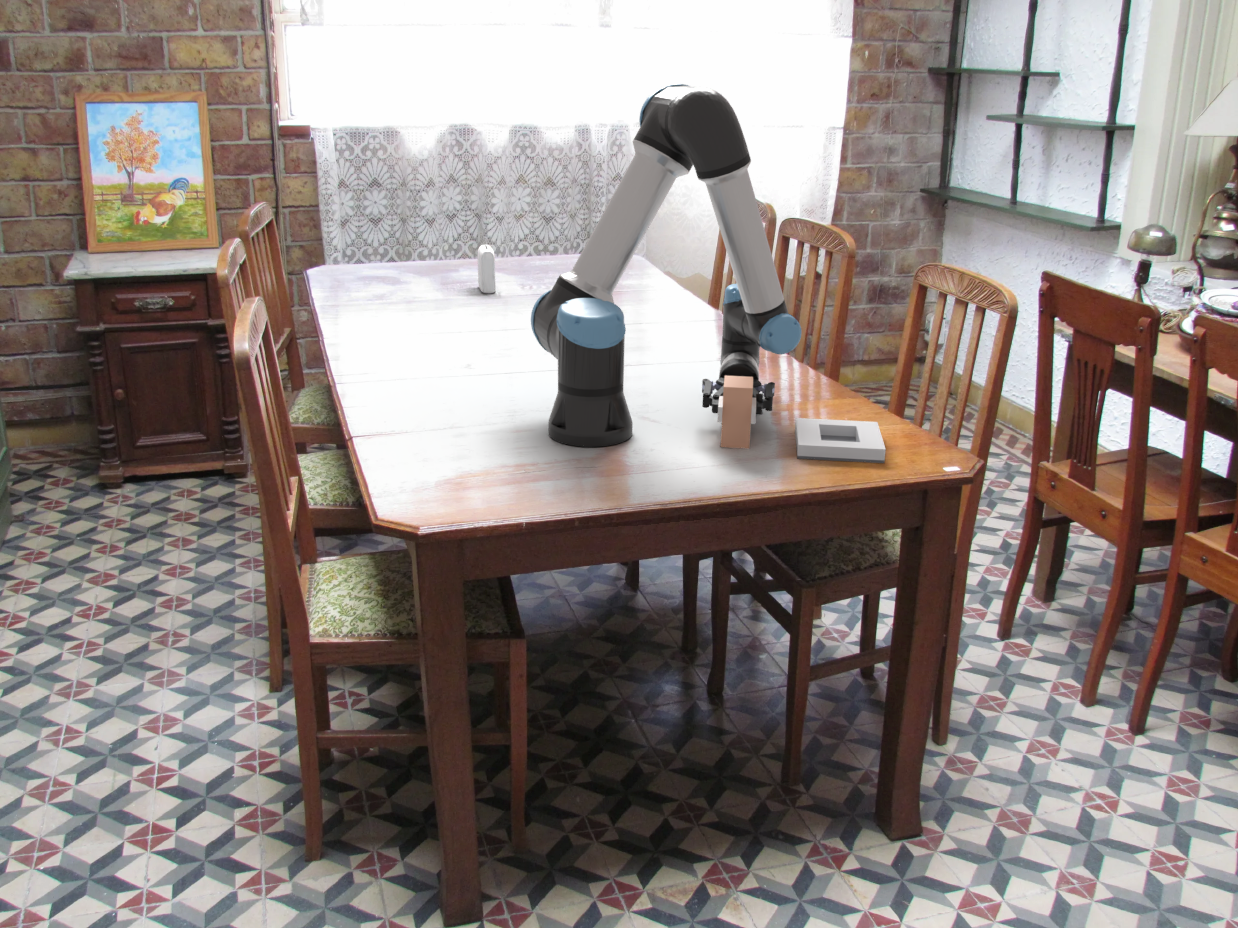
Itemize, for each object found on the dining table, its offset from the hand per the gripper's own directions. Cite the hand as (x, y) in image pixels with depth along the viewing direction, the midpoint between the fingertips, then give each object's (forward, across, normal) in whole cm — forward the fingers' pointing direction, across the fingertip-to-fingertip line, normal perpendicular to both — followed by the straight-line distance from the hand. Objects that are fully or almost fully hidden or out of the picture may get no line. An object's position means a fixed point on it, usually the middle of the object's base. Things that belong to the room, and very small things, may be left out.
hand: (736, 415), depth 195 cm
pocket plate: (-5, -18, -6) cm, 20 cm away
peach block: (-5, 0, -6) cm, 8 cm away
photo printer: (-120, +71, -7) cm, 140 cm away
